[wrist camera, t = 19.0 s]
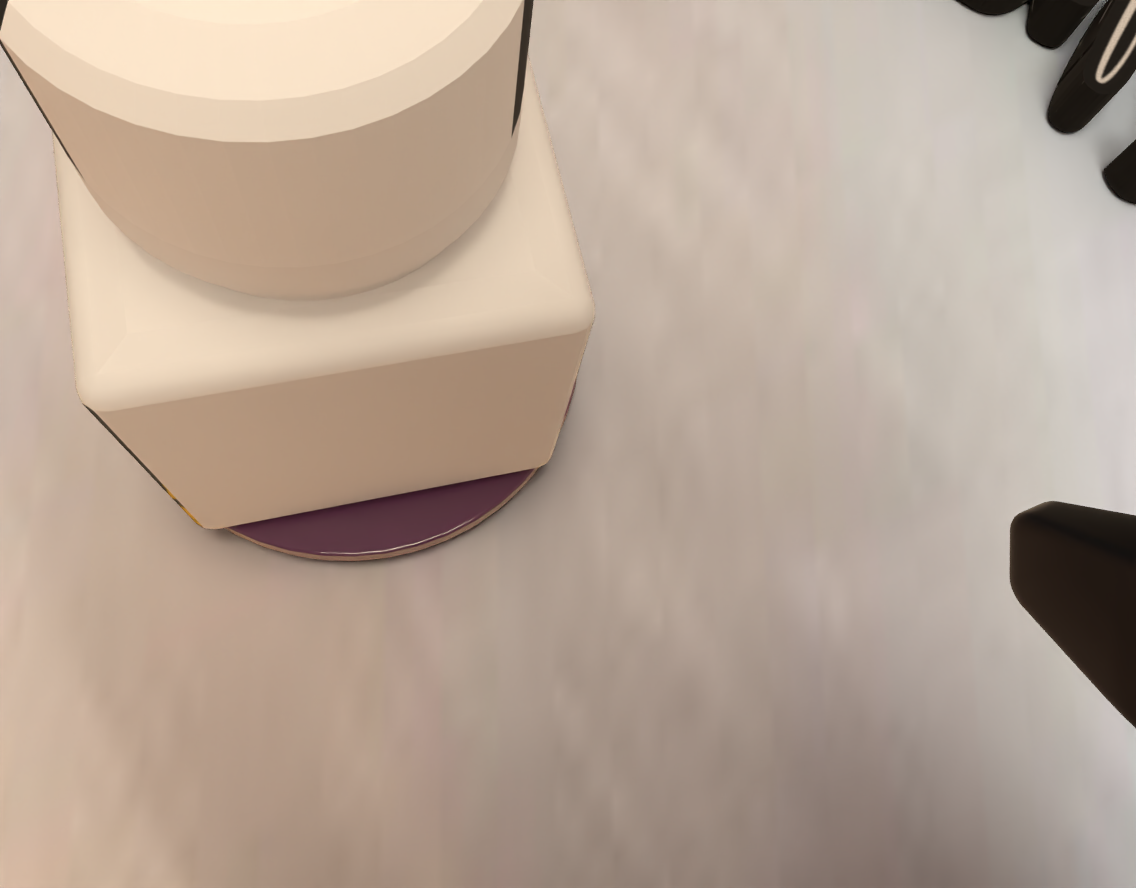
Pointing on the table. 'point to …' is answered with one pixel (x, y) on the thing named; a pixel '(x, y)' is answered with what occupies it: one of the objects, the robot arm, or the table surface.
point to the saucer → (387, 520)
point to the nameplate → (1085, 65)
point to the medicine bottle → (308, 242)
